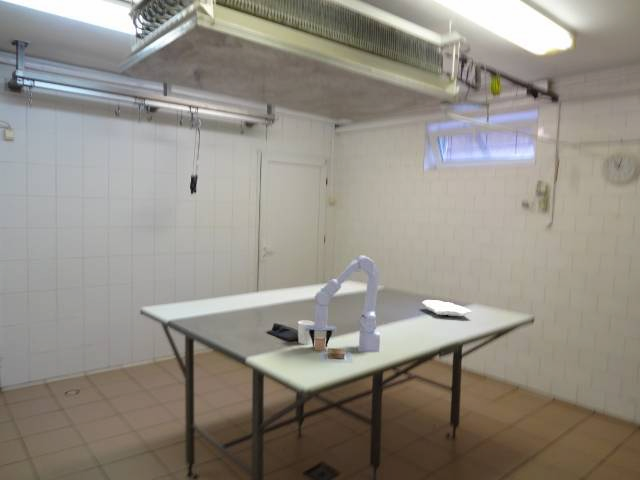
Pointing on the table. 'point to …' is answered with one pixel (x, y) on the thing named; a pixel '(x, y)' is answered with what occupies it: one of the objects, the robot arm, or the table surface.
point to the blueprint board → (325, 359)
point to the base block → (336, 353)
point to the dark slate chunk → (284, 332)
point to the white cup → (304, 332)
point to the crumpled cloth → (446, 308)
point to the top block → (319, 343)
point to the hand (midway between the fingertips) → (319, 346)
